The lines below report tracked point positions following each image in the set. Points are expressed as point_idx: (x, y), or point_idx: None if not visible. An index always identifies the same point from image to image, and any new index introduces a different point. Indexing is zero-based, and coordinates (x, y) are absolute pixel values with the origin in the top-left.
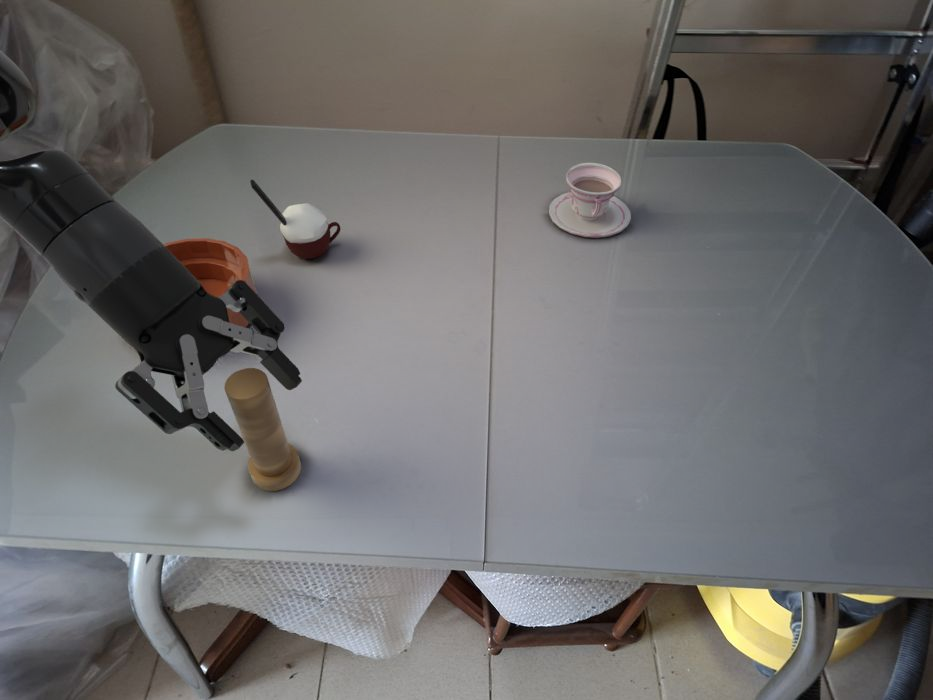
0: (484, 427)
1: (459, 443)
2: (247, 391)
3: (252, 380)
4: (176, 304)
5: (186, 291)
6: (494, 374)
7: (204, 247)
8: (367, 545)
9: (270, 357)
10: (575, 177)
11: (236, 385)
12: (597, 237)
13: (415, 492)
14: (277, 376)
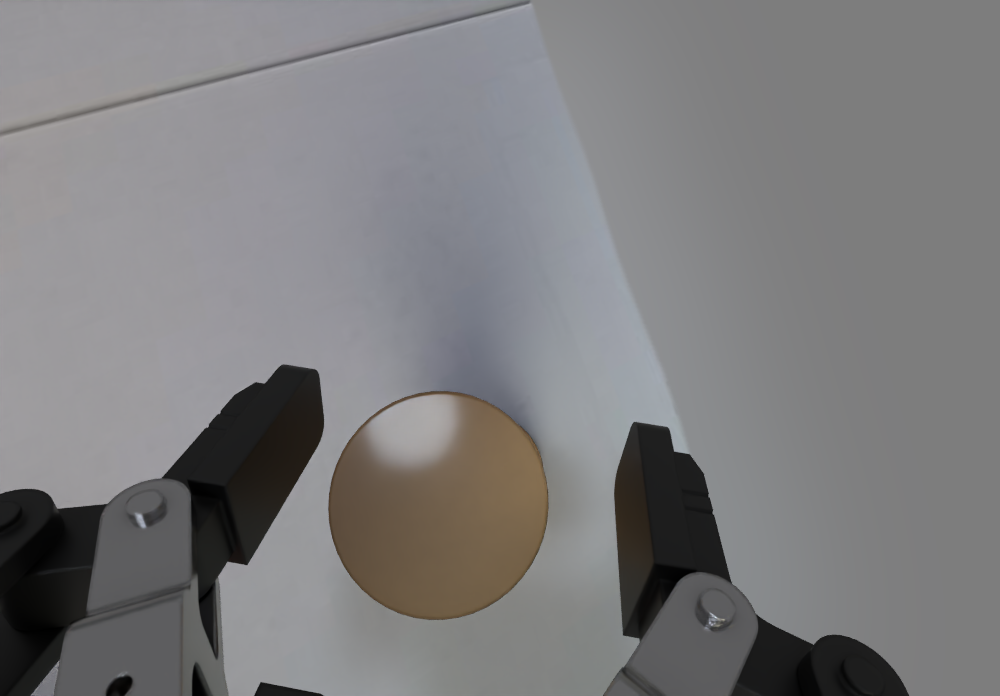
0: (238, 83)
1: (294, 117)
2: (486, 462)
3: (410, 478)
4: None
5: None
6: (76, 106)
7: None
8: (586, 200)
9: (230, 485)
10: None
11: (466, 542)
12: None
13: (440, 158)
14: (291, 469)
